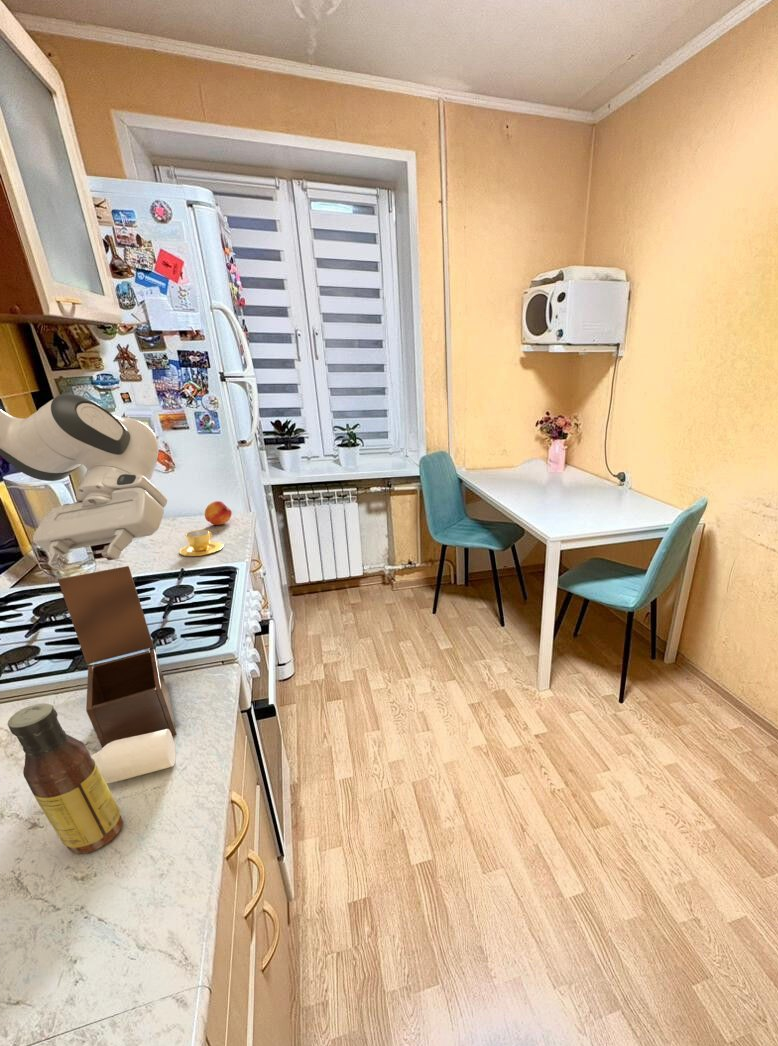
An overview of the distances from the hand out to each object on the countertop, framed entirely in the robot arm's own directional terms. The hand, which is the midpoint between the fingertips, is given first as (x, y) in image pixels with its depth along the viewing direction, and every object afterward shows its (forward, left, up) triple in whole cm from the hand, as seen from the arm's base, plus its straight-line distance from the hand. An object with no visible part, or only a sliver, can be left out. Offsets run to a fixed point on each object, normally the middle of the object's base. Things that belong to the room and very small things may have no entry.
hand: (82, 562), depth 81 cm
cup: (+21, +72, -26) cm, 79 cm away
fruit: (+30, +96, -26) cm, 104 cm away
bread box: (+1, -10, -25) cm, 27 cm away
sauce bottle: (-5, -32, -26) cm, 41 cm away
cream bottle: (-1, -22, -26) cm, 34 cm away
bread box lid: (+1, -2, -9) cm, 9 cm away
